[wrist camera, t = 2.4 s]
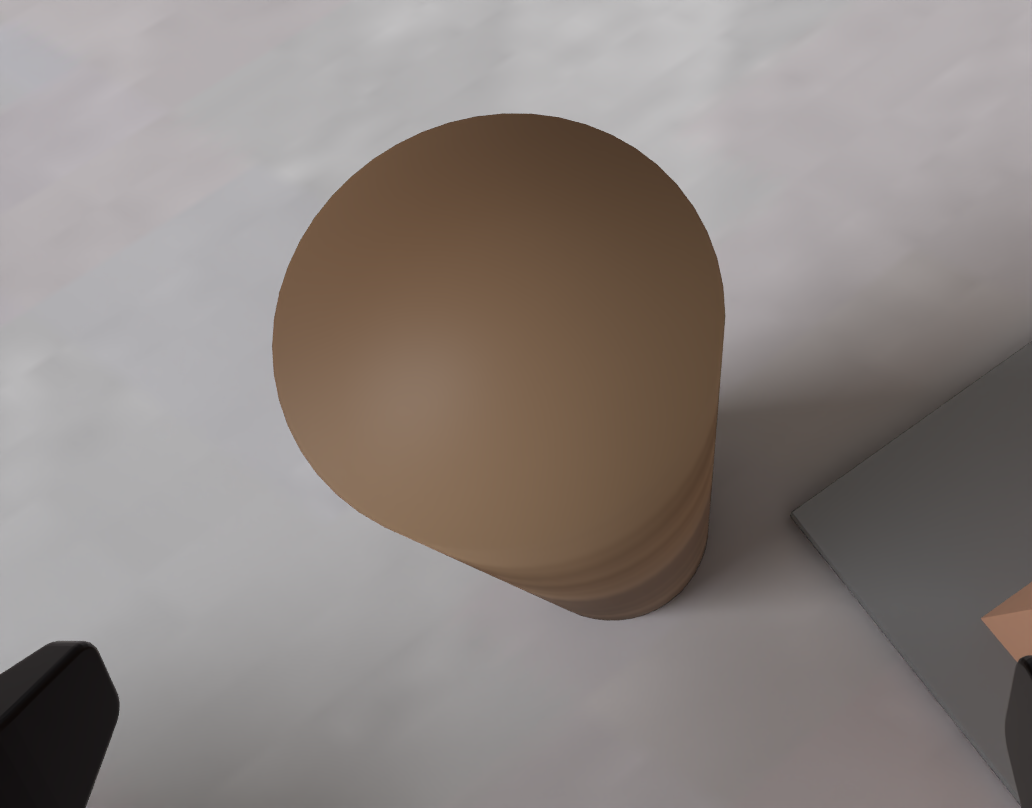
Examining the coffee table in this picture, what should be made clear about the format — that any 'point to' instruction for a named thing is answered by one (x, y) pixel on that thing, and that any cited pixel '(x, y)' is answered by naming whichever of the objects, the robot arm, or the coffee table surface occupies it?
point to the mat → (944, 544)
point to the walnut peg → (514, 358)
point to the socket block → (1013, 623)
